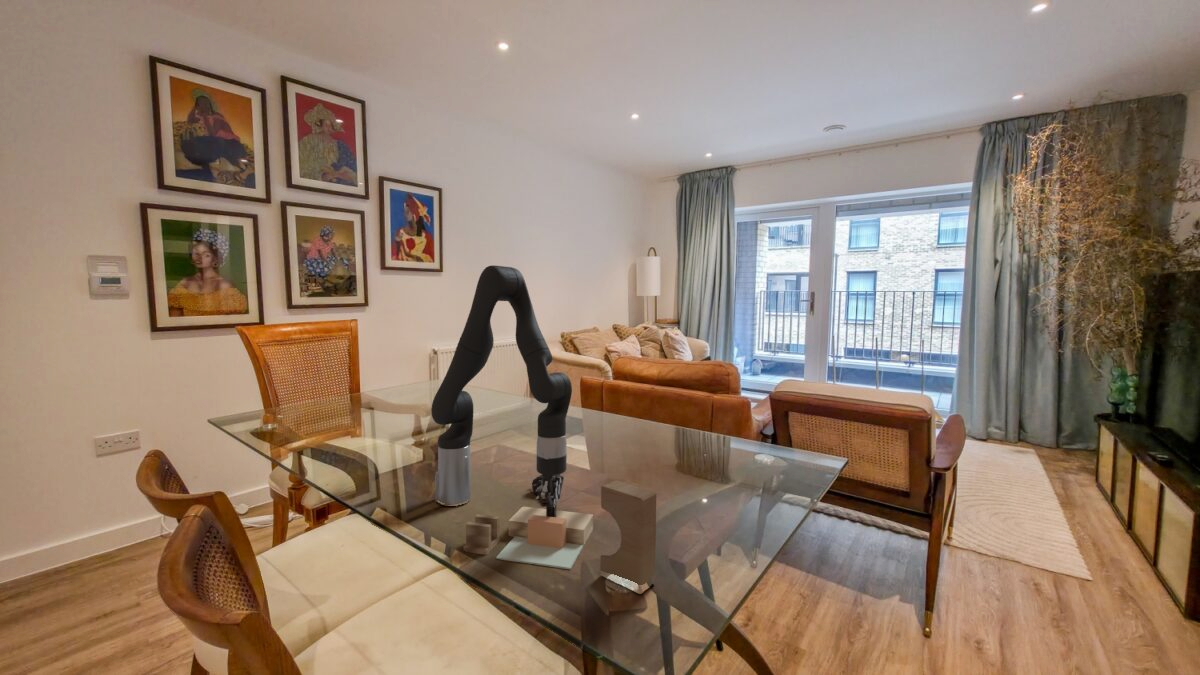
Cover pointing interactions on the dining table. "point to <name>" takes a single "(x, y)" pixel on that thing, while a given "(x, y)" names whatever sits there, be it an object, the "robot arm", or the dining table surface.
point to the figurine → (537, 485)
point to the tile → (547, 531)
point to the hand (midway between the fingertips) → (551, 519)
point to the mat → (540, 553)
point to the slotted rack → (482, 534)
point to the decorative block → (631, 531)
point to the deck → (576, 523)
